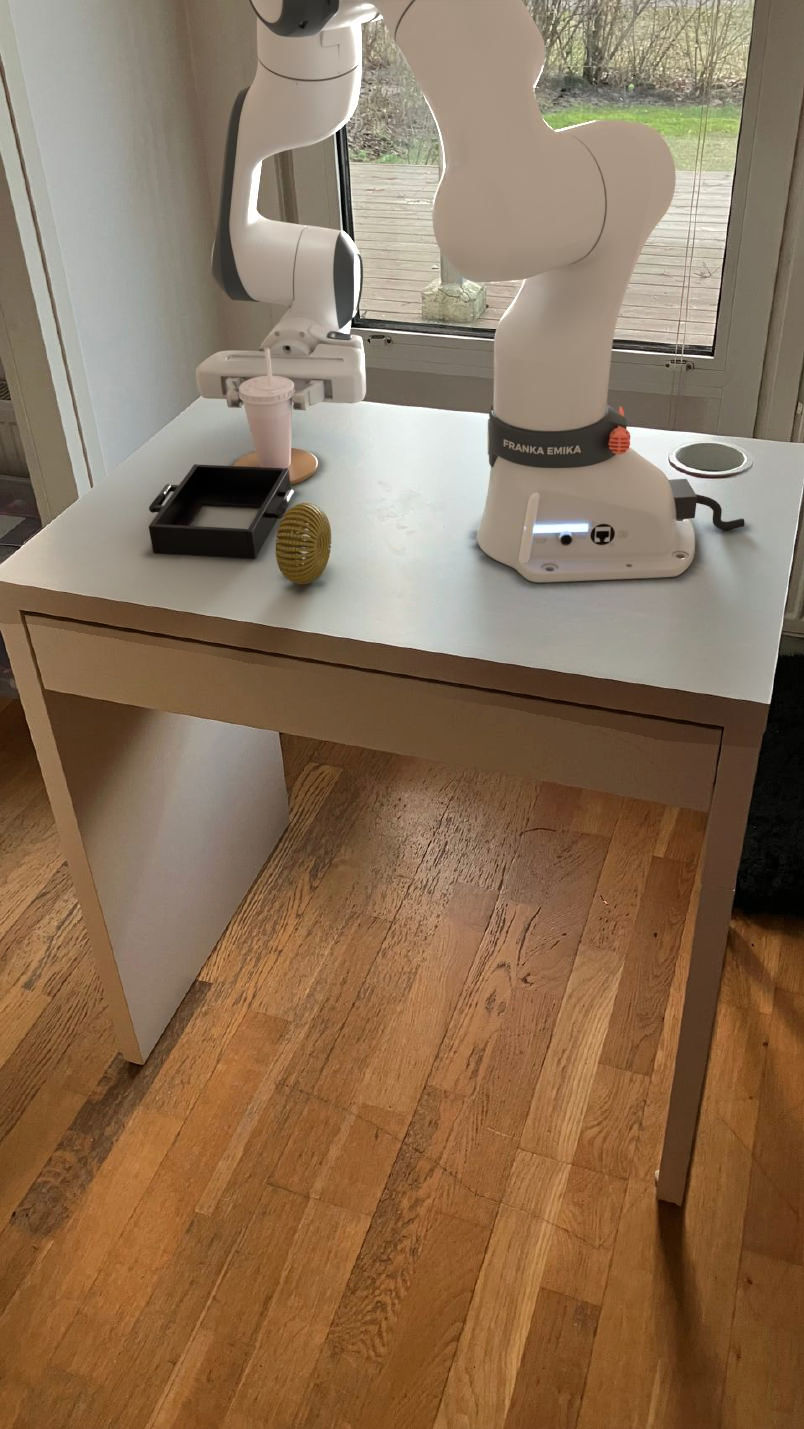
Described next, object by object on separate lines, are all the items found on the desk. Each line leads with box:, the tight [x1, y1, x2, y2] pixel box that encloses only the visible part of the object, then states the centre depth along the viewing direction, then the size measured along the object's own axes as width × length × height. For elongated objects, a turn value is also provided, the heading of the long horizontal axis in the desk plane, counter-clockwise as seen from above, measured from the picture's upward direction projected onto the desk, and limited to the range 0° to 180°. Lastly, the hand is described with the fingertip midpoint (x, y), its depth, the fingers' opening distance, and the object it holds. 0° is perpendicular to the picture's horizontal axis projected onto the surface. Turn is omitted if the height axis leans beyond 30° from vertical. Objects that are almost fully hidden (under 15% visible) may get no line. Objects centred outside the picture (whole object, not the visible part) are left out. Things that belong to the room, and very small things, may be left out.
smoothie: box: [239, 348, 295, 468], centre depth 136 cm, size 6×6×14 cm
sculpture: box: [275, 502, 332, 585], centre depth 117 cm, size 8×4×8 cm, turn 162°
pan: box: [148, 463, 295, 560], centre depth 129 cm, size 15×15×3 cm
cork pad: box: [233, 447, 319, 485], centre depth 141 cm, size 10×10×1 cm
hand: (265, 402), depth 135 cm, fingers closed on smoothie, 6 cm apart
